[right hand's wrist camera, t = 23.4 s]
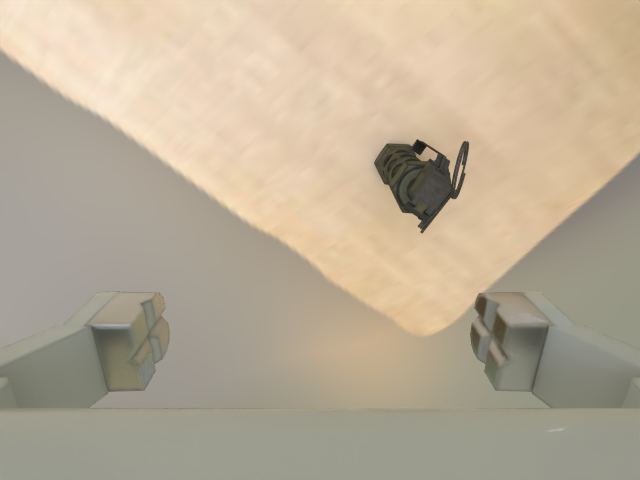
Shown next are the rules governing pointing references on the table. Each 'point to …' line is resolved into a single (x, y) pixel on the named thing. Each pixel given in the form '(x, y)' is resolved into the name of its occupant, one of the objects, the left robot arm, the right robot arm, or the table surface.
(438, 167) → the grenade
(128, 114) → the table surface
